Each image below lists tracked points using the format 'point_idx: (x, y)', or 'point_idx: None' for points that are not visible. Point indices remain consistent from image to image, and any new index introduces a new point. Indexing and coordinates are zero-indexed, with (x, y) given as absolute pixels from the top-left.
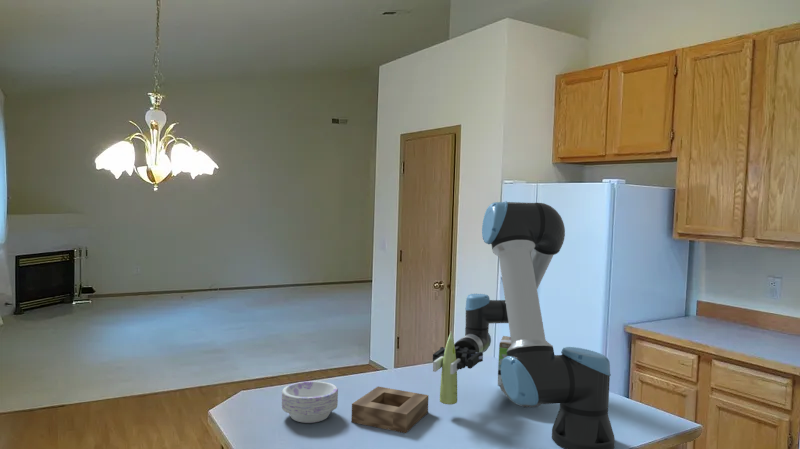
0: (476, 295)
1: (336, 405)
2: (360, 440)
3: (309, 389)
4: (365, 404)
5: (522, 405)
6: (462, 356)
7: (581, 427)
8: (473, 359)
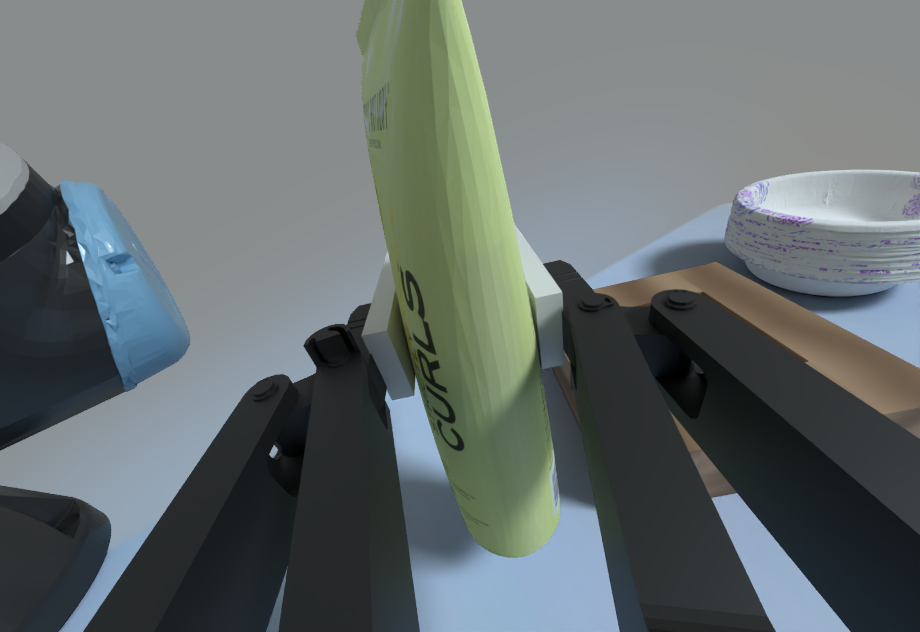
0: None
1: (764, 261)
2: (589, 285)
3: None
4: (685, 276)
5: None
6: (332, 329)
7: None
8: (218, 453)
